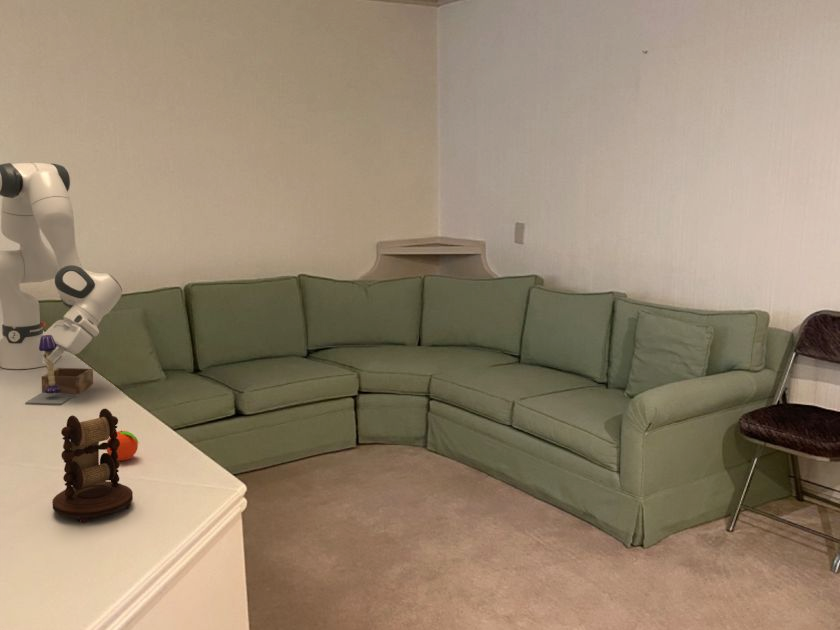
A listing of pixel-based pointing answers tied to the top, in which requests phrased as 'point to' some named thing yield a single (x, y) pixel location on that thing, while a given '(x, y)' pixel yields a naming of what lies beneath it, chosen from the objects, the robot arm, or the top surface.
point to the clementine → (125, 445)
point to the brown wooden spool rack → (91, 469)
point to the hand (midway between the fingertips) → (46, 358)
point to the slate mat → (50, 399)
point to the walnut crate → (70, 380)
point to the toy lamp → (49, 362)
